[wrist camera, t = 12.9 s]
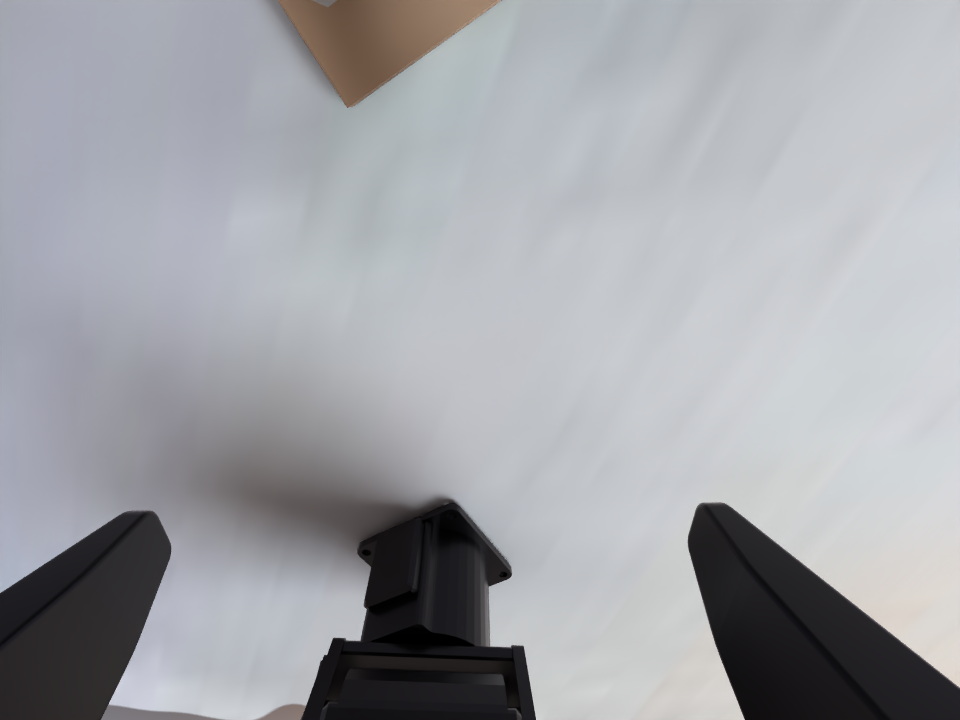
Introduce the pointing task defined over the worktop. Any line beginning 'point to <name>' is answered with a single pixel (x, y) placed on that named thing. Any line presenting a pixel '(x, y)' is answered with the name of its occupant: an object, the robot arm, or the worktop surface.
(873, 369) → the worktop surface
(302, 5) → the board
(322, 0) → the mounted modules
